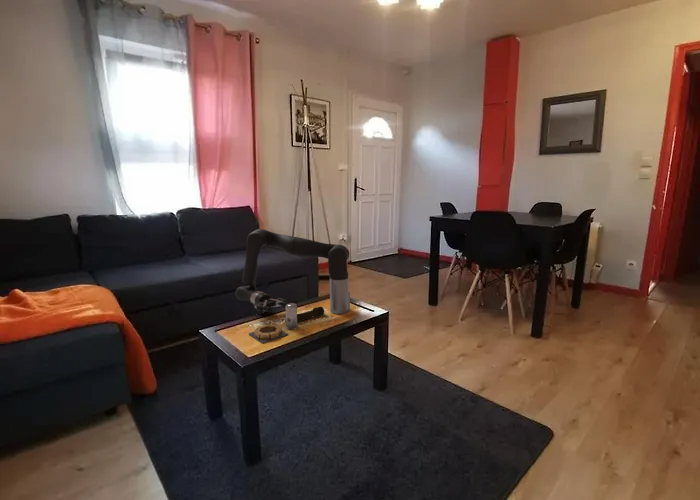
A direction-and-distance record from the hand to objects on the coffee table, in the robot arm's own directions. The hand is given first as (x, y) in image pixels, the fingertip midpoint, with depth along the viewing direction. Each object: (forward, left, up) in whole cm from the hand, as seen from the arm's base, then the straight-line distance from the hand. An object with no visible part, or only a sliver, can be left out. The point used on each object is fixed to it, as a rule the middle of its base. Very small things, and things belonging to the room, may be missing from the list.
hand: (278, 308), depth 170 cm
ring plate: (+12, +11, -6) cm, 17 cm away
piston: (0, +11, -6) cm, 13 cm away
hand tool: (-11, +7, -6) cm, 15 cm away
